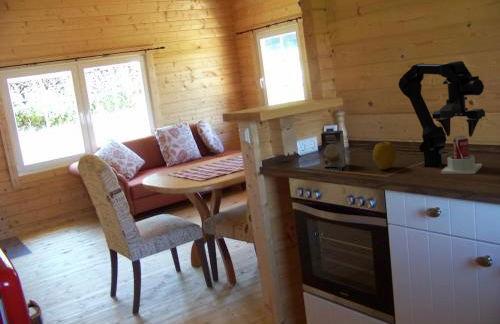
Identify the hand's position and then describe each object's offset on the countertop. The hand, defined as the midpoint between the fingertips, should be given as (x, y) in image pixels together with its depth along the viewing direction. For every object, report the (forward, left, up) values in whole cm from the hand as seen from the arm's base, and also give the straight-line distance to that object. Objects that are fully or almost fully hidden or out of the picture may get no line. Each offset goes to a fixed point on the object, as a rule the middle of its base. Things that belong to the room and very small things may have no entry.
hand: (459, 136), depth 197 cm
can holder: (0, -1, -13) cm, 13 cm away
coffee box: (-57, +6, -13) cm, 59 cm away
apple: (-31, +1, -13) cm, 34 cm away
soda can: (+1, -1, -12) cm, 12 cm away
